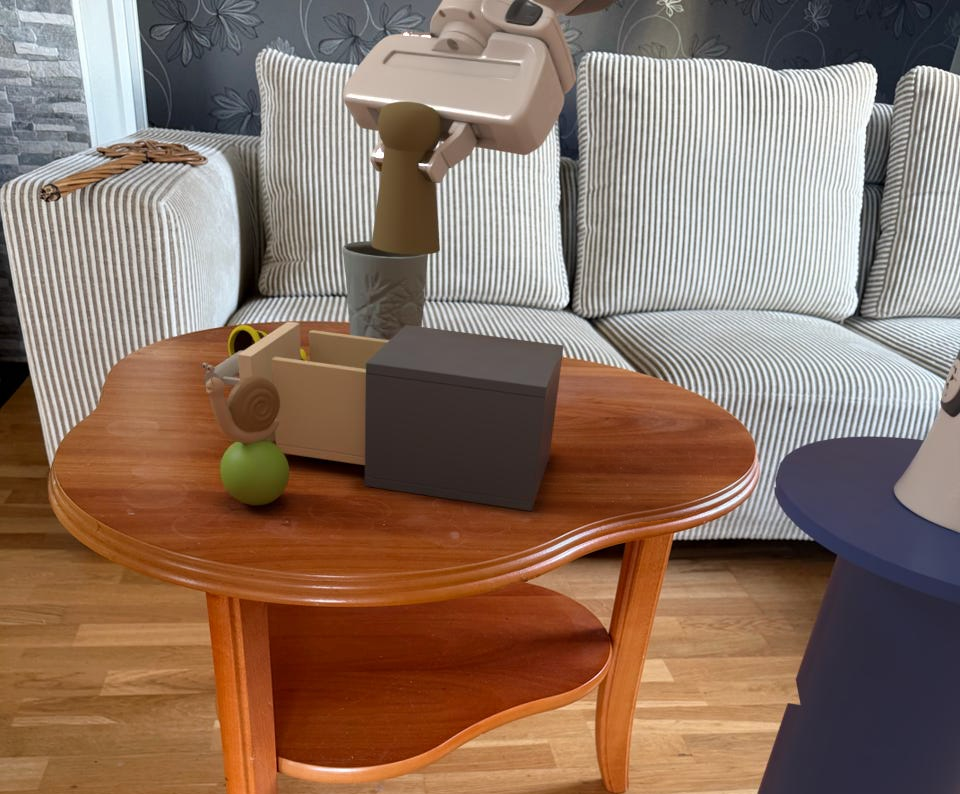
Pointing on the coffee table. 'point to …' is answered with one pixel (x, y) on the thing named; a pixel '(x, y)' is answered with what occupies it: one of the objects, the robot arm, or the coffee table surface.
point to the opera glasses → (247, 339)
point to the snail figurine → (249, 438)
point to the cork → (406, 181)
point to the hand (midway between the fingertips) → (403, 172)
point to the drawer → (311, 389)
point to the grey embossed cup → (383, 290)
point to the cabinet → (461, 416)
